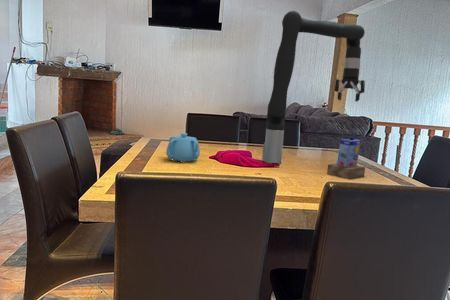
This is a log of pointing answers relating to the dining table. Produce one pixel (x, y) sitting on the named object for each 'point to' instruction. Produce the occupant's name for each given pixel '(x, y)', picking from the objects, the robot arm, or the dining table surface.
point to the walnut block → (346, 171)
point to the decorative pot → (183, 148)
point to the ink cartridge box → (348, 152)
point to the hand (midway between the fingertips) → (348, 100)
